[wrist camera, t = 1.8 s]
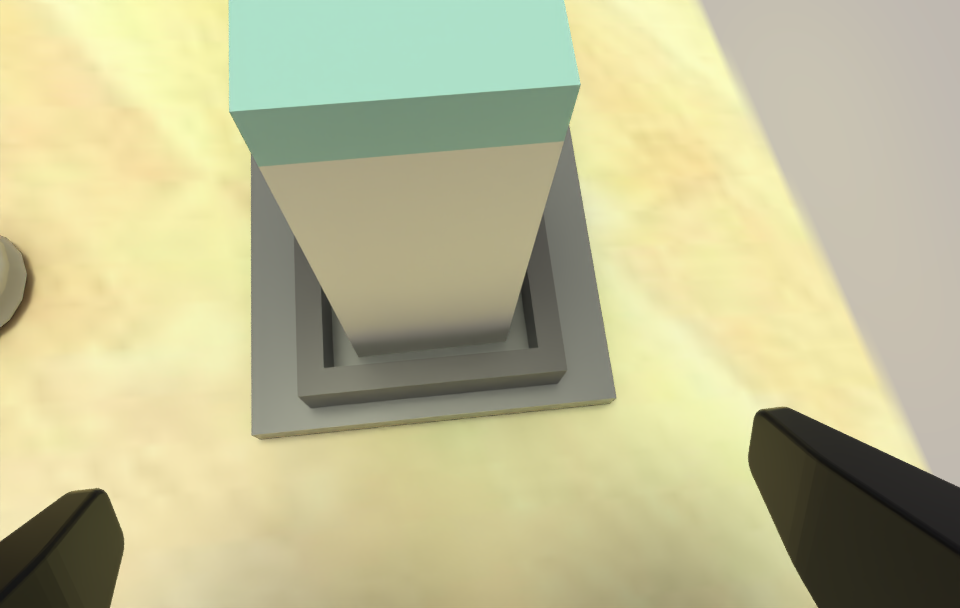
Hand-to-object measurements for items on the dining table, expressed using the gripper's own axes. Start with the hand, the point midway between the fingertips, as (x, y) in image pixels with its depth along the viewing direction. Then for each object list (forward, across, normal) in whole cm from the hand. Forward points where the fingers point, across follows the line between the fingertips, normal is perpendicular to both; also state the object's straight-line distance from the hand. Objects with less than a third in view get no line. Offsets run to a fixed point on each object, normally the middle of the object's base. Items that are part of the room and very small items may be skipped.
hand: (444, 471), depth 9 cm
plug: (+14, 0, +4) cm, 15 cm away
